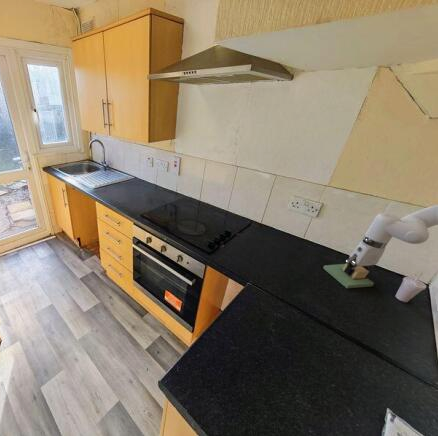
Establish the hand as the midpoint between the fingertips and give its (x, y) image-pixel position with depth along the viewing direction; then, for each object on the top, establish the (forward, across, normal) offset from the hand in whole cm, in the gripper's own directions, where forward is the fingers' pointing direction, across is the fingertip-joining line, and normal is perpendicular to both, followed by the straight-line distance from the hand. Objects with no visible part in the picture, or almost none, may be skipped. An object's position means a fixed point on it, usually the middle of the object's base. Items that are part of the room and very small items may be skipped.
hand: (353, 273), depth 105 cm
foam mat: (+2, -3, 0) cm, 4 cm away
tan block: (+1, 0, 0) cm, 1 cm away
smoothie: (+2, +9, -14) cm, 17 cm away
